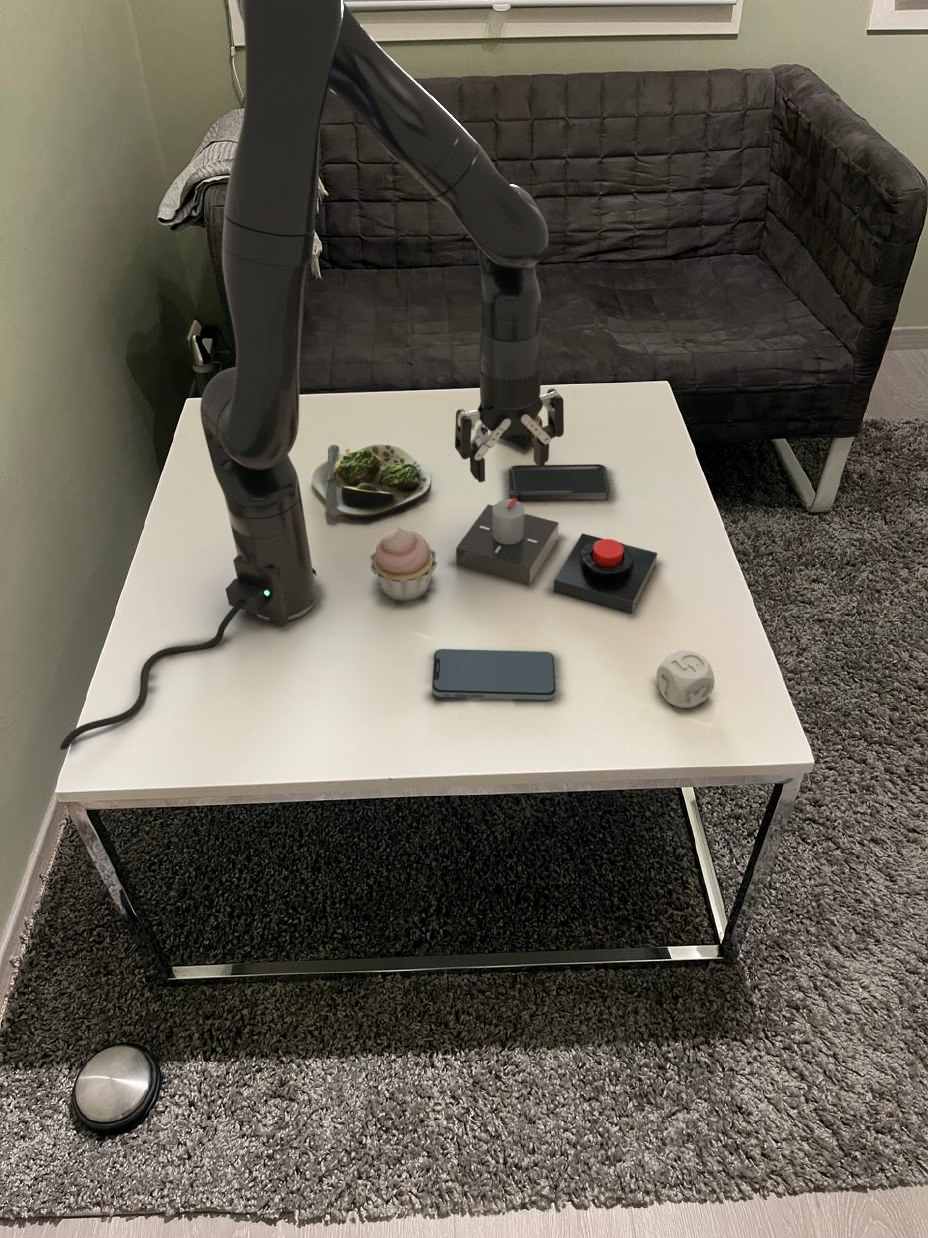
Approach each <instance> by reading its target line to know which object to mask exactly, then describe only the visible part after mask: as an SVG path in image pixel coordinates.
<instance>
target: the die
mask: <svg viewBox="0 0 928 1238" xmlns="http://www.w3.org/2000/svg"><path fill="white" fill-rule="evenodd" d="M656 682H657V686H658V689H659V691H660V693H661V695H662V697H663V698H664V699H665V700H666V701H667V703H669V704H671V705H673V706H675V707H678V708H683V709H684V708H685V709H686V708H693V707H696V706H698V705H700V704H702V703H703V702H704V701H706V700H707V698H708V697H709V696H710V695H711V694H712V692H713V690H714V688H715V675H714V671H713V668H712V666H711V664H710V663H709V661H708V660H707V658H706V657H705V656H703V655H702V654H701V653H698V652H697V651H693V650H686V649H685V650H677V651H675V652H672V653H671V654H669V655H668V656H666V657H665V658H664V659H663V660H662V661H661V662H660V664H659V665H658V668H657V670H656Z"/></svg>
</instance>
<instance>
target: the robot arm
mask: <svg viewBox="0 0 928 1238" xmlns="http://www.w3.org/2000/svg"><path fill="white" fill-rule="evenodd" d="M236 4H237V8H238V13H239V15H240V18H241V20H242V23H243V33H244V34H243V35H244V57H245V58H244V61H245V62H244V66H245V67H244V89H245V90H244V107H243V116H242V122H241V128H240V132H239V135H238V140H237V144H236V148H235V150H234V151H235V152H234V156H233V160H232V164H231V169H230V174H229V178H228V183H227V188H226V196H225V202H224V210H223V228H222V229H223V230H222V242H221V263H222V264H221V266H222V274H223V275H222V276H223V281H224V288H225V293H226V299H227V304H228V309H229V314H230V318H231V324H232V329H233V334H234V335H233V336H234V342H235V343H234V344H235V366H234V367H229V368H226V369H224V370H221V371H220V372H218V373H216V375H214V376H213V377H212V378H211V379H210V381H209V382H208V383H207V384H206V386H205V388H204V390H203V393H202V396H201V400H200V410H199V411H200V420H201V426H202V431H203V435H204V438H205V442H206V446H207V449H208V453H209V457H210V461H211V465H212V468H213V472H214V475H215V478H216V480H217V482H218V484H219V487H220V488H221V491H222V494H223V497H224V503H225V505H226V509H227V515H228V519H229V524H230V528H231V532H232V537H233V542H234V546H235V547H234V548H235V551H236V556H235V557H234V558H233V566H234V570H235V574H236V578H234V580H232V581H231V583H229V585H227V587H226V588H225V593H226V598H227V602H228V606H230V607H232V608H231V609H230V610H229V611H228V613H227V614H226V615H225V616H224V618H223V619H222V621H221V622H220V624H219V626H218V628H217V631H216V635H215V636H214V637H213V638H212V639H210V640H208V641H205V642H203V643H198V644H191V645H189V644H188V645H179V646H171V647H166V648H163V649H161V650H158V651H156V652H155V653H153V654H152V655H150V657H149V658H148V659H147V660H146V661H145V663H144V664H143V666H142V668H141V672H140V678H139V679H140V681H139V682H140V683H139V694H138V697H137V699H136V701H135V702H134V704H133V705H132V706H131V707H129V709H127V710H125V711H124V712H122V713H120V714H117V715H114V716H110V717H106V718H101V719H97V720H94V721H90V722H87V723H84V724H82V725H79V726H77V727H76V728H74V729H73V730H72V731H71V732H69V734H67V736H66V737H65V738H64V739H63V740H62V743H60V747H59V748H60V750H61V751H63V750H64V751H65V750H66V749H68V748H69V747H70V745H71V744H72V743H73V742H74V740H76V738H78V737H79V736H81V735H82V734H84V733H87V732H89V731H91V730H95V729H99V728H103V727H108V726H111V725H115V724H118V723H121V722H124V721H126V720H127V719H129V718H131V717H132V716H134V715H135V714H136V713H137V712H138V711H139V710H140V709H141V708H142V707H143V705H144V704H145V702H146V699H147V695H148V686H149V685H148V684H149V683H148V682H149V680H148V679H149V673H150V670H151V668H152V666H153V665H154V663H156V661H158V660H160V659H161V658H163V657H166V656H169V655H173V654H180V653H189V652H196V651H204V650H207V649H211V648H213V647H215V646H216V645H218V644H219V643H220V642H221V641H222V640H223V637H224V635H225V631H226V629H227V627H228V626H229V624H230V623H231V621H232V620H233V619H234V618H235V616H236V615H237V614H238V613H239V611H240V610H242V611H244V614H245V615H247V616H250V617H254V618H257V619H259V620H262V621H265V622H269V623H272V624H275V625H279V626H282V627H285V626H286V625H287V623H289V622H290V621H293V620H296V619H299V618H301V617H303V616H305V615H306V614H307V613H308V612H310V611H311V610H312V609H313V608H314V606H316V603H317V600H318V590H317V586H316V583H315V582H316V581H315V577H317V571H316V569H315V568H313V563H312V557H311V550H310V544H309V538H308V537H309V536H308V531H307V525H306V520H305V512H304V506H303V498H302V492H301V487H300V479H299V476H298V473H297V470H296V467H295V466H294V464H293V462H292V460H291V458H290V455H289V454H290V452H291V450H292V449H293V447H294V445H295V443H296V440H297V437H298V432H299V426H300V368H301V367H300V365H301V349H302V339H303V333H304V332H303V331H304V322H305V315H306V304H307V295H308V288H309V287H308V286H309V277H310V271H311V265H312V260H313V259H312V258H313V253H314V244H315V243H314V242H315V233H316V227H317V226H316V224H317V212H318V211H317V209H318V208H317V207H318V198H319V197H318V195H319V180H320V157H321V155H320V153H321V152H320V151H321V131H322V123H323V122H322V121H323V116H324V109H325V105H326V104H325V103H326V100H327V94H328V90H330V91H331V92H333V93H334V94H335V95H336V96H337V97H338V98H339V99H340V100H341V101H342V102H343V103H344V104H345V105H346V106H347V107H348V109H350V110H351V111H352V112H353V114H355V115H356V117H357V118H358V119H359V120H360V121H361V122H362V123H363V125H365V127H366V128H367V129H368V130H369V131H370V132H371V134H372V135H373V136H374V137H375V138H376V139H377V141H378V142H379V143H380V144H381V145H382V146H383V148H385V150H386V151H387V152H388V153H389V154H390V155H391V156H392V157H393V159H395V161H396V162H397V163H398V164H399V165H400V166H401V167H402V168H403V169H404V170H405V171H406V172H407V174H409V175H410V177H412V178H413V179H414V180H415V181H416V182H417V183H418V184H419V186H421V187H422V188H423V189H424V190H425V191H426V192H427V193H428V194H429V195H430V196H431V197H432V198H434V200H435V201H437V202H438V203H440V204H441V205H442V206H443V207H444V208H445V209H446V210H447V211H448V212H449V213H450V214H451V215H452V216H453V218H454V219H455V220H456V221H457V222H458V224H459V225H460V226H461V228H463V230H464V231H465V232H466V233H467V235H468V236H469V238H471V240H472V241H473V242H474V243H475V244H476V247H477V256H478V265H479V272H480V281H481V295H480V296H481V299H480V327H481V328H480V337H479V347H478V349H479V397H480V398H479V399H480V402H479V405H478V408H477V409H476V410H469V411H465V409H464V408H459V409H457V411H456V412H455V427H454V429H455V430H454V448H455V450H456V451H457V452H458V454H459V455H460V457H461V459H462V460H468V459H469V472H470V473H471V475H472V476H473V478H474V479H475V480H477V482H478V483H484V482H486V459H485V455H486V454H487V453H488V451H489V450H490V449H492V448H493V447H494V446H495V445H496V443H497V442H498V441H499V439H500V440H503V438H507V437H510V436H512V435H521V434H524V432H525V431H526V430H527V429H529V430H530V431H531V432H532V433H533V434H534V435H535V436H536V437H534V444H533V462H534V463H535V465H537V466H538V467H539V468H541V467H544V466H545V465H546V463H548V461H549V459H550V458H549V457H550V443H551V441H552V439H555V438H556V437H557V438H561V437H563V436H564V434H565V419H564V416H565V415H564V414H565V413H564V408H565V407H564V398H563V397H562V396H561V395H560V393H558V391H557V390H556V389H555V388H549V389H548V390H547V392H546V394H543V395H541V387H542V386H541V385H542V384H541V383H542V382H541V381H542V359H543V349H542V348H543V344H542V342H543V341H542V335H541V321H542V320H541V318H542V317H541V316H542V295H541V287H540V284H539V281H538V277H537V274H536V273H537V272H536V265H537V264H538V263H540V261H541V260H542V259H543V257H544V256H545V253H546V251H547V249H548V246H549V230H548V225H547V222H546V220H545V218H544V216H543V214H542V213H541V210H540V209H539V207H538V205H537V204H536V202H535V199H534V198H533V197H532V196H531V194H530V193H528V192H527V191H526V190H525V189H524V188H522V187H521V186H518V185H515V184H510V183H509V182H508V181H507V180H506V178H504V177H503V175H501V173H499V170H497V168H496V167H495V164H494V163H493V162H492V160H491V158H490V156H488V154H487V152H486V151H485V150H484V149H483V148H482V146H481V145H480V144H479V143H478V142H477V141H476V140H475V138H474V137H473V136H471V135H470V133H469V132H468V131H467V130H466V129H465V128H464V127H463V126H462V125H461V124H460V123H459V122H458V120H456V119H455V118H454V117H453V115H452V114H450V113H449V112H448V111H447V109H445V108H444V106H442V105H441V104H440V103H439V102H438V101H437V100H436V99H435V98H434V97H433V96H432V95H430V94H429V92H427V90H425V89H424V88H423V87H422V86H421V85H420V84H419V83H417V81H416V80H414V79H413V77H411V76H410V75H409V74H408V73H407V72H405V70H403V69H402V68H401V67H400V66H399V65H398V64H397V63H396V62H395V61H394V60H393V59H392V58H391V57H390V56H389V55H388V54H387V53H386V52H385V51H384V50H383V49H382V48H381V47H380V45H378V43H377V42H376V41H375V40H374V39H373V37H371V35H370V34H369V33H368V32H367V30H365V28H364V27H363V26H362V25H361V23H360V22H359V21H358V19H356V17H355V16H354V14H353V13H352V11H351V9H350V8H349V7H348V5H347V4H346V3H345V2H344V0H236ZM543 407H544V408H545V410H546V411H547V425H544V426H543V425H542V426H543V427H542V426H541V425H540V424H539V423H538V422H537V421H536V420H535V418H536V417H537V415H539V414H540V413H541V411H542V409H543ZM478 421H480V422H481V423H480V424H479V425H478V426H477V428H476V429H475V427H476V424H477V422H478ZM474 430H475V435H474V437H473V438H472V431H474ZM489 431H490V433H489V434H488V432H489ZM86 846H87V845H85V844H83V848H84V849H85V851H86V854H87V855H88V857H89V859H90V861H91V862H92V865H94V863H93V861H92V859H91V858H90V856H89V853H88V851H87V848H86ZM94 868H95V869H96V867H95V866H94ZM97 874H98V875H99V873H98V872H97ZM106 892H107V893H108V891H107V890H106ZM108 895H109V893H108Z"/></svg>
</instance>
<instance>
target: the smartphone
mask: <svg viewBox="0 0 928 1238" xmlns="http://www.w3.org/2000/svg"><path fill="white" fill-rule="evenodd" d="M554 658H555V657H554V655H553V654H552V653H551V652H549V651H536V650H535V651H531V650H529V651H528V650H500V649H499V650H497V649H496V650H495V649H494V650H493V649H464V648H463V649H460V648H459V649H458V648H457V649H455V648H438V649H437V650H436V651H435V652H434V653H433V668H432V670H433V672H432V685H431V686H432V687H431V689H432V694H433V695H434V696H436V697H440V698H471V699H504V700H505V699H507V700H508V699H510V700H543V701H548V700H552V699H554V698H555V696H556V691H557V689H556V674H555V672H556V671H555V659H554Z"/></svg>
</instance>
